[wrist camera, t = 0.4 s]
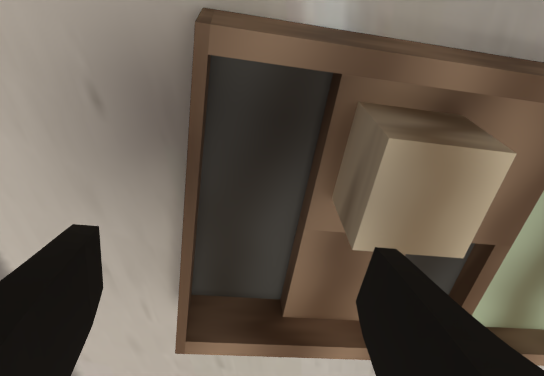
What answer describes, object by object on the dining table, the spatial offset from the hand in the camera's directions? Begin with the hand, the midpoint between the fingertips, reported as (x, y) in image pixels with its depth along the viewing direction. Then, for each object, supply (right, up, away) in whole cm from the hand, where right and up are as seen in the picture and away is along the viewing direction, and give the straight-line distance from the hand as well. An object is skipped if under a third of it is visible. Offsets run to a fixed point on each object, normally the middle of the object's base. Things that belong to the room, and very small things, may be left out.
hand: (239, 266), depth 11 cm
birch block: (+7, +3, +8) cm, 11 cm away
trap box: (+9, +1, +12) cm, 16 cm away
